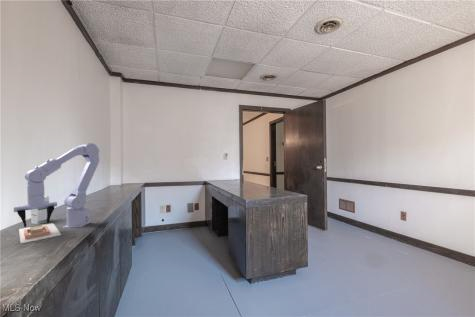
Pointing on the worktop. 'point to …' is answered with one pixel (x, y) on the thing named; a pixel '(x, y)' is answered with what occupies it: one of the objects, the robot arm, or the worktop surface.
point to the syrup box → (39, 214)
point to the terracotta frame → (36, 233)
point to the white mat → (53, 233)
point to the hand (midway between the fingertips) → (36, 224)
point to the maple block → (36, 229)
